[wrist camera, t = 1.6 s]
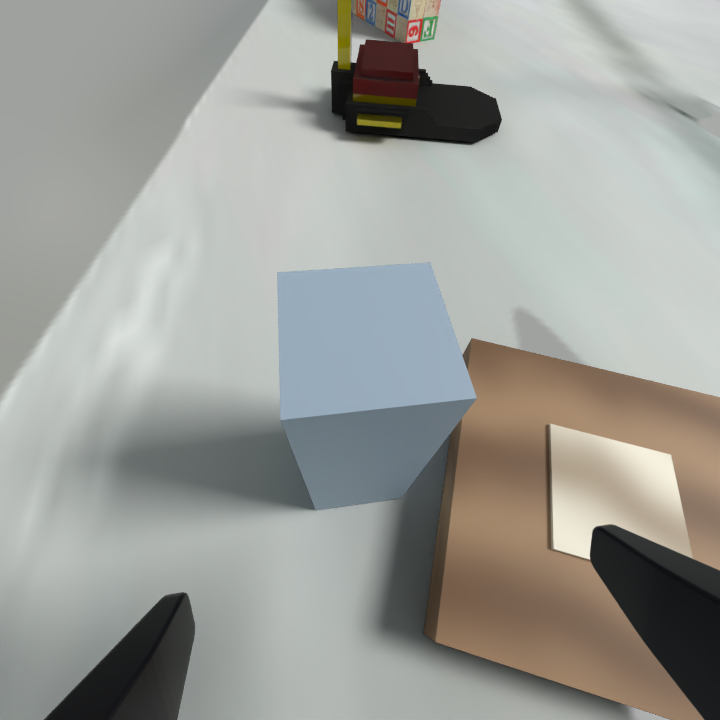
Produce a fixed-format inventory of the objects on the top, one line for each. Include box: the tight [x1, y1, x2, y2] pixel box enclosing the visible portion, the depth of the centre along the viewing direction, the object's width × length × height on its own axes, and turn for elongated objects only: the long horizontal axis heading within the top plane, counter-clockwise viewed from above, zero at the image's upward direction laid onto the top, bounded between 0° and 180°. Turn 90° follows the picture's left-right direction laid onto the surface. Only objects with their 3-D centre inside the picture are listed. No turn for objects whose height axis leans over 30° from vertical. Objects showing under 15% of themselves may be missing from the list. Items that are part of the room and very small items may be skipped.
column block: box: [277, 263, 477, 510], centre depth 15 cm, size 5×5×13 cm
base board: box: [423, 338, 720, 720], centre depth 19 cm, size 16×16×3 cm
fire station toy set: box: [331, 0, 502, 142], centre depth 39 cm, size 14×20×11 cm
